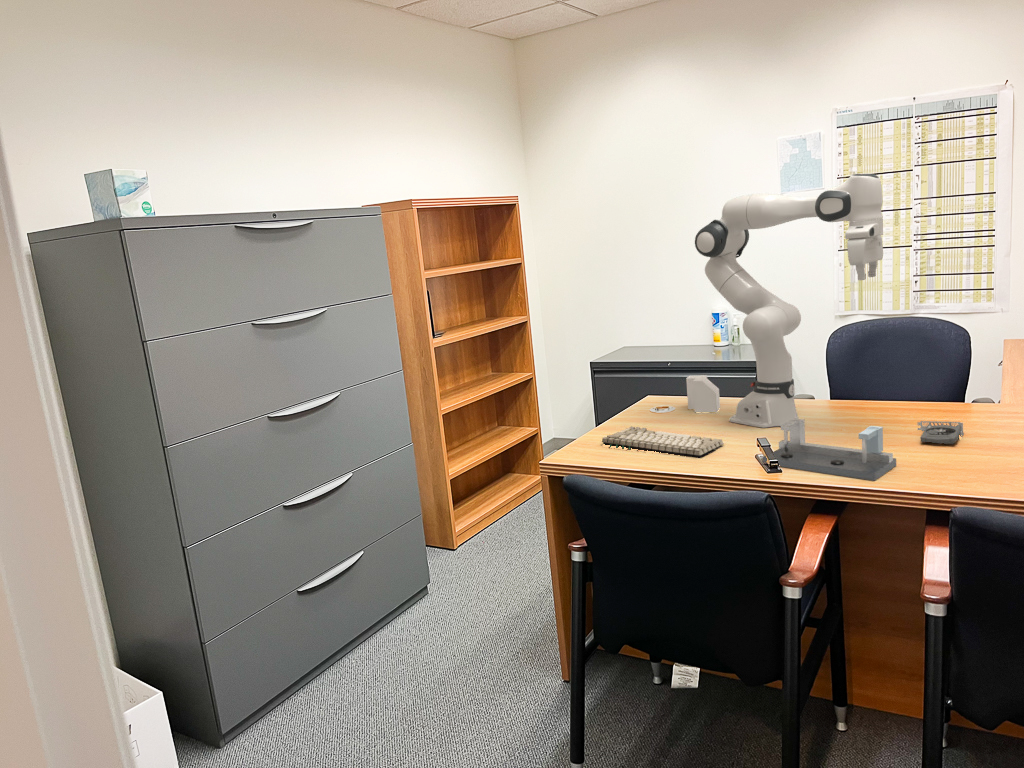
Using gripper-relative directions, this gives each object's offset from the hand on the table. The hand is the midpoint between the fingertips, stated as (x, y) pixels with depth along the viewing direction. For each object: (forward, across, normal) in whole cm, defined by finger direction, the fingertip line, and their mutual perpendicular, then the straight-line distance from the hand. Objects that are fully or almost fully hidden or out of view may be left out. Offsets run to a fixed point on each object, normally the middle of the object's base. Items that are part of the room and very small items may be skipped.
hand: (867, 278), depth 218 cm
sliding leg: (+44, +36, +11) cm, 57 cm away
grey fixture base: (+47, +35, 0) cm, 59 cm away
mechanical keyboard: (+47, +34, -52) cm, 78 cm away
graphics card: (+47, 0, +18) cm, 51 cm away
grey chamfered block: (+47, -13, -62) cm, 79 cm away
